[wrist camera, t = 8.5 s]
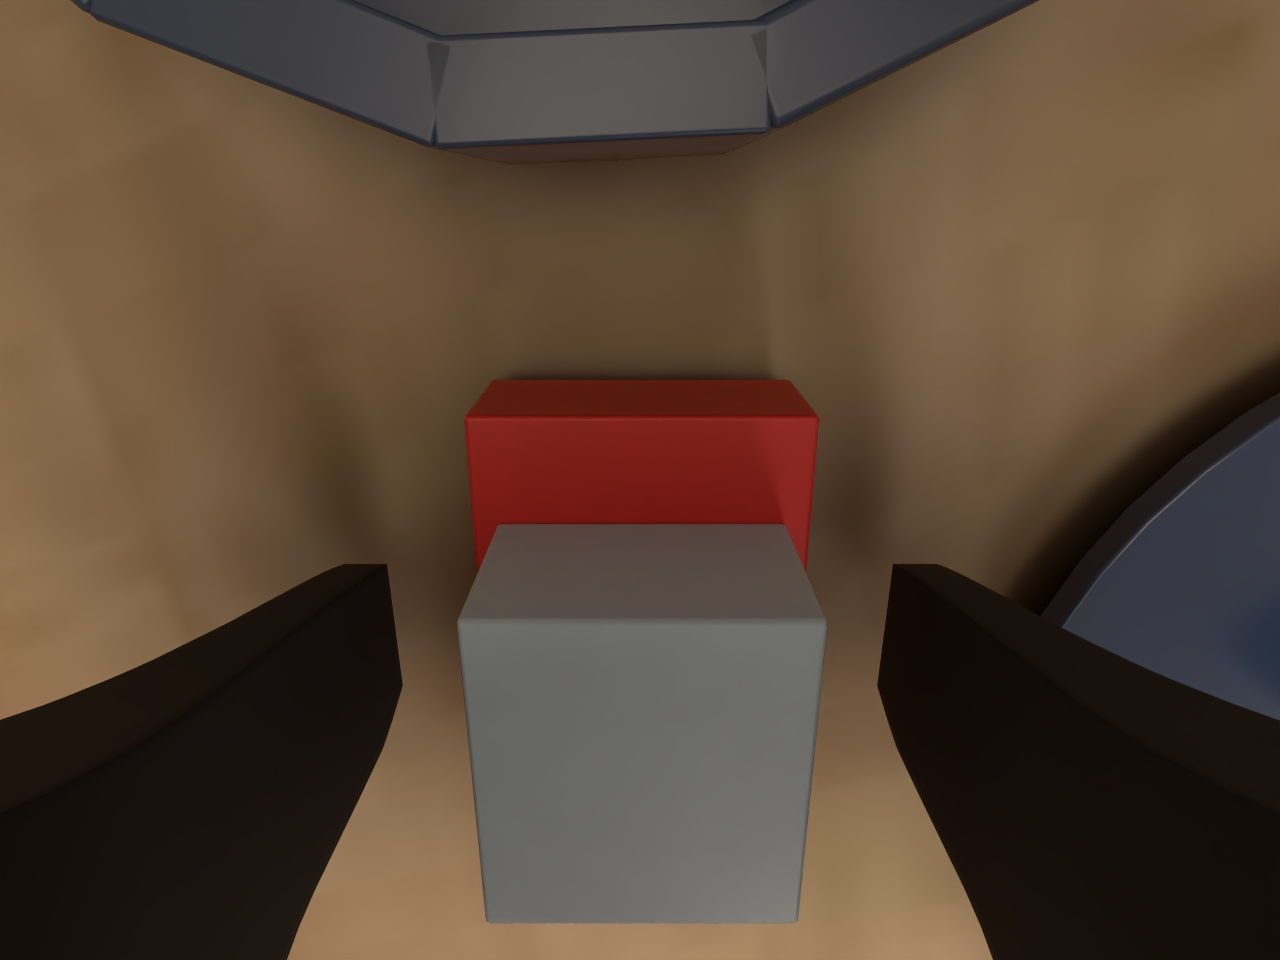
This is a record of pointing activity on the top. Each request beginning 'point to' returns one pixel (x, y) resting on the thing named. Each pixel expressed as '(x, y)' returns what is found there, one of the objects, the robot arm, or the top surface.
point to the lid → (1194, 570)
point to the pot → (562, 64)
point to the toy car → (641, 649)
